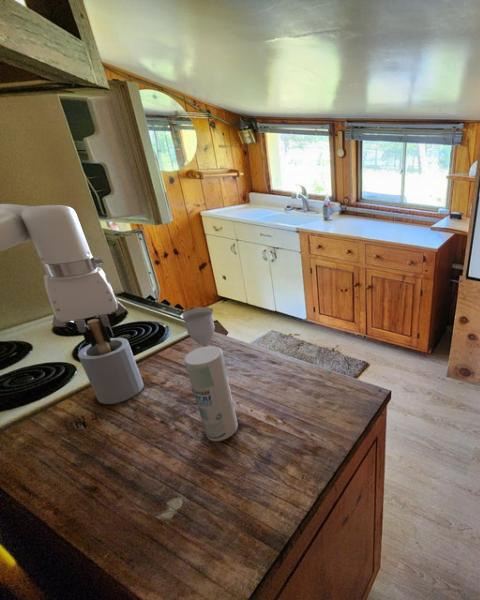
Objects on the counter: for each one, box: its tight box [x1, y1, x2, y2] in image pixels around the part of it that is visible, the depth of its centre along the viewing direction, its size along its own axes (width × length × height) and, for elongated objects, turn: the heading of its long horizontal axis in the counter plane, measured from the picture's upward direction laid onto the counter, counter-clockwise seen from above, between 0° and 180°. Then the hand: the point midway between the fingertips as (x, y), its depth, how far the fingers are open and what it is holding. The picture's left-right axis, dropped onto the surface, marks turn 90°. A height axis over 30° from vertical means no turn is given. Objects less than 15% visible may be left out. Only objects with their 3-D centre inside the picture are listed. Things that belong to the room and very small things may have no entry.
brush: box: [86, 318, 112, 355], centre depth 77 cm, size 4×4×17 cm
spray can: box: [183, 345, 239, 442], centre depth 68 cm, size 6×6×20 cm
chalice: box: [180, 306, 216, 347], centre depth 87 cm, size 7×7×18 cm
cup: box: [77, 337, 144, 405], centre depth 79 cm, size 9×9×13 cm
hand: (101, 341), depth 75 cm, fingers closed on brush, 2 cm apart
